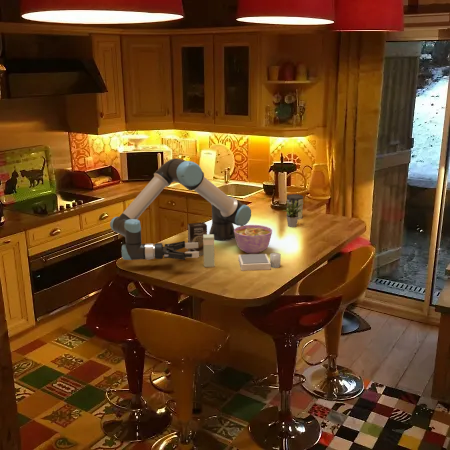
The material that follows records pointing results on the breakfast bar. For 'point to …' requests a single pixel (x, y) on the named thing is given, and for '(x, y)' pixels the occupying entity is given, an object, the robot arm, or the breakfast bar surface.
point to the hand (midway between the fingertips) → (198, 249)
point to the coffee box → (197, 236)
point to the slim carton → (208, 250)
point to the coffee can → (300, 200)
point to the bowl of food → (253, 238)
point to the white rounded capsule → (275, 260)
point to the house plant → (292, 214)
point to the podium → (254, 262)
